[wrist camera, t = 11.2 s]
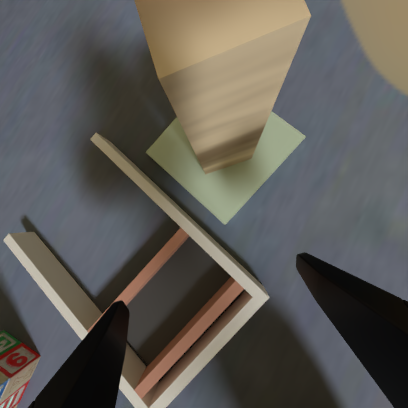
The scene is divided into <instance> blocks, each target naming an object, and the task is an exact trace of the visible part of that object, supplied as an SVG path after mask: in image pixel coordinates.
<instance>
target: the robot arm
mask: <svg viewBox="0 0 408 408" xmlns="http://www.w3.org/2000/svg"><path fill="white" fill-rule="evenodd" d="M296 268H297V270H298V272H299V274H300V275H301V277H302V279H303V280H304V282H305V284H306V285H307V287H308V289H309V290H310V292H311V294H312V295H313V297H314V299H315V300H316V301H317V303H318V304H319V306H320V307H321V308H322V310H323V311H324V313H325V314H326V315H327V317H328V318H329V319H330V321H331V322H332V323H333V325H334V326H335V328H336V329H337V330H338V332H339V333H340V334H341V336H342V337H343V338H344V340H345V341H346V343H347V344H348V345H349V347H350V348H351V349H352V351H353V352H354V353H355V355H356V356H357V358H358V359H359V360H360V362H361V363H362V364H363V366H364V367H365V368H366V370H367V371H368V373H369V374H370V375H371V377H372V378H373V379H374V381H375V382H376V383H377V385H378V386H379V388H380V389H381V390H382V392H383V393H384V394H385V396H386V397H387V398H388V400H389V401H390V403H391V404H392V405H393V407H394V408H408V301H406V300H402V299H401V298H399V297H397V296H395V295H393V294H391V293H389V292H387V291H385V290H382V289H380V288H378V287H376V286H374V285H372V284H370V283H368V282H366V281H364V280H362V279H360V278H358V277H355V276H353V275H351V274H349V273H347V272H345V271H343V270H341V269H339V268H337V267H335V266H333V265H331V264H328V263H326V262H324V261H322V260H320V259H318V258H316V257H314V256H312V255H310V254H308V253H300V254H297V257H296ZM129 316H130V313H129V309H128V308H127V306H126V305H125V303H124V302H123V301H122V300H120V301H116V302H114V303H112V304H111V306H110V307H109V308H108V309H107V310H106V312H105V313H104V314H103V315H102V317H101V318H100V319H99V320H98V322H97V323H96V324H95V325H94V327H93V328H92V329H91V330H90V332H89V333H88V334H87V335H86V337H85V338H84V339H83V340H82V341H81V343H80V344H79V345H78V346H77V348H76V349H75V350H74V351H73V353H72V354H71V355H70V356H69V358H68V359H67V360H66V361H65V363H64V364H63V365H62V366H61V367H60V369H59V370H58V371H57V372H56V374H55V375H54V376H53V377H52V379H51V380H50V381H49V382H48V384H47V385H46V386H45V387H44V389H43V390H42V391H41V392H40V394H39V395H38V396H37V397H36V399H35V401H33V402H32V403H31V405H30V406H29V407H28V408H115V405H116V400H117V395H118V389H119V384H120V379H121V374H122V369H123V363H124V358H125V353H126V345H127V336H128V326H129Z"/></svg>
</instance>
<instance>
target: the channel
mask: <svg viewBox="0 0 408 408" xmlns="http://www.w3.org/2000/svg"><path fill="white" fill-rule="evenodd" d="M90 140H91V141H92V142H93V143H94V144H95V145H96V146H97V147H98V148H100V149H101V150H102V151H103V152H104V153H105V154H106V155H107V156H108V157H109V158H110V159H111V160H112V161H113V162H114V163H115V164H116V165H117V166H118V167H119V168H120V169H121V170H122V171H123V172H124V173H125V174H126V175H127V176H128V177H129V178H130V179H131V180H133V181H134V182H135V183H136V184H137V185H138V186H139V187H140V188H141V189H142V190H143V191H144V192H145V193H146V194H147V195H148V196H149V197H150V198H151V199H152V200H153V201H154V202H155V203H156V204H157V205H158V206H159V207H160V208H161V209H162V210H163V211H164V212H165V213H167V214H168V215H169V216H170V217H171V218H172V219H173V220H174V221H175V222H176V223H177V224H178V225H179V226H180V227H181V228H182V229H183V230H184V231H185V232H186V233H187V234H188V235H189V236H190V237H191V238H192V239H193V240H194V241H195V242H196V243H197V244H198V245H200V246H201V247H202V248H203V249H204V250H205V251H206V252H207V253H208V254H209V255H210V256H211V257H212V258H213V259H214V260H215V261H216V262H217V263H218V264H219V265H220V266H221V267H222V268H223V269H224V270H225V271H226V272H227V273H228V274H229V275H230V276H231V277H233V278H234V279H235V280H236V281H237V282H238V283H239V284H240V285H241V286H242V287H243V288H244V289H245V291H244V292H243V293H242V294H241V295H240V296H239V297H238V298H237V299H236V301H235V302H234V303H233V304H232V305H231V306H230V307H229V308H228V309H227V310H226V311H225V312H224V313H223V314H222V316H221V317H220V318H219V319H218V320H217V321H216V322H215V323H214V324H213V325H212V326H211V327H210V328H209V329H208V331H207V332H206V333H205V334H204V335H203V336H202V337H201V338H200V339H199V340H198V341H197V342H196V343H195V344H194V345H193V347H192V348H191V349H190V350H189V351H188V352H187V353H186V354H185V355H184V356H183V357H182V358H181V359H180V360H179V362H178V363H177V364H176V365H175V366H174V367H173V368H172V369H171V370H170V371H169V372H168V373H167V374H166V375H165V376H164V378H163V379H162V380H161V381H160V382H159V381H158V382H157V383H156V384H155V385H154V386H153V387H152V388H151V389H150V390H149V391H148V392H147V393H146V394H145V396H144V397H143V398H142V399H141V398H140V397H139V396H138V395H137V393H136V392H135V391H134V389H135V387H136V385H137V383H138V382H139V380H140V378H141V376H142V374H143V372H144V370H145V369H146V365H145V364H144V363H143V362H142V361H141V359H140V358H139V357H138V356H137V355H136V353H135V352H134V351H133V350H132V349H131V347H130V346H129V345H128V344H127V345H126V353H125V358H124V363H123V369H122V374H121V379H120V384H119V388H120V390H121V391H122V392H123V393H124V395H125V396H126V397H127V398H128V400H129V401H130V402H131V404H132V405H133V406H134V407H135V408H166V407H167V406H168V405H169V404H170V403H171V401H172V400H173V399H174V398H175V397H176V396H177V395H178V394H179V393H180V392H181V391H182V390H183V389H184V388H185V387H186V386H187V384H188V383H189V382H190V381H191V380H192V379H193V378H194V377H195V376H196V375H197V374H198V373H199V372H200V371H201V370H202V369H203V368H204V366H205V365H206V364H207V363H208V362H209V361H210V360H211V359H212V358H213V357H214V356H215V355H216V354H217V353H218V352H219V351H220V349H221V348H222V347H223V346H224V345H225V344H226V343H227V342H228V341H229V340H230V339H231V338H232V337H233V336H234V335H235V334H236V333H237V331H238V330H239V329H240V328H241V327H242V326H243V325H244V324H245V323H246V322H247V321H248V320H249V319H250V318H251V317H252V316H253V314H254V313H255V312H256V311H257V310H258V309H259V308H260V307H261V306H262V305H263V304H264V303H265V302H266V301H267V300H268V299H269V296H268V294H267V292H266V290H265V288H264V286H263V285H262V284H261V283H260V282H259V281H257V280H256V279H255V278H254V277H253V276H252V275H251V274H250V273H249V272H248V271H247V270H246V269H245V268H244V267H243V266H242V265H241V264H239V263H238V262H237V261H236V260H235V259H234V258H233V257H232V256H231V255H230V254H229V253H228V252H227V251H226V250H225V249H224V248H223V247H221V246H220V245H219V244H218V243H217V242H216V241H215V240H214V239H213V238H212V237H211V236H210V235H209V234H208V233H207V232H206V231H205V230H204V229H202V228H201V227H200V226H199V225H198V224H197V223H196V222H195V221H194V220H193V219H192V218H191V217H190V216H189V215H188V214H187V213H186V212H184V211H183V210H182V209H181V208H180V207H179V206H178V205H177V204H176V203H175V202H174V201H173V200H172V199H171V198H170V197H169V196H168V195H166V194H165V193H164V192H163V191H162V190H161V189H160V188H159V187H158V186H157V185H156V184H155V183H154V182H153V181H152V180H151V179H150V178H149V177H147V176H146V175H145V174H144V173H143V172H142V171H141V170H140V169H139V168H138V167H137V166H136V165H135V164H134V163H133V162H132V161H131V160H129V159H128V158H127V157H126V156H125V155H124V154H123V153H122V152H121V151H120V150H119V149H118V148H117V147H116V146H115V145H114V144H113V143H111V142H110V141H108V140H107V139H105V138H104V137H102V136H101V135H99V134H98V133H95V134H94V135H93V137H92V138H91V139H90ZM4 242H5V243H6V244H7V246H8V247H9V248H10V249H11V251H12V252H13V253H14V254H15V256H16V257H17V258H18V260H19V261H20V262H21V263H22V265H23V266H24V267H25V268H26V270H27V271H28V272H29V274H30V275H31V276H32V277H33V279H34V280H35V281H36V283H37V284H38V285H39V286H40V288H41V289H42V290H43V291H44V293H45V294H46V295H47V297H48V298H49V299H50V300H51V302H52V303H53V304H54V305H55V307H56V308H57V309H58V311H59V312H60V313H61V314H62V316H63V317H64V318H65V319H66V321H67V322H68V323H69V325H70V326H71V327H72V328H73V330H74V331H75V332H76V333H77V335H78V336H79V337H80V339H81V340H83V339H84V338H85V337H86V335H87V334H88V332H87V331H88V330H89V328H90V327H91V326H92V325H93V324H94V323H95V322H96V321H97V320H98V318H99V317H100V316H101V315H102V313H101V311H100V310H99V309H98V308H97V307H96V305H95V304H94V303H93V302H92V301H91V299H90V298H89V297H88V296H87V295H86V293H85V292H84V291H83V290H82V289H81V287H80V286H79V285H78V284H77V283H76V281H75V280H74V279H73V278H72V277H71V275H70V274H69V273H68V272H67V271H66V269H65V268H64V267H63V266H62V265H61V263H60V262H59V261H58V260H57V259H56V257H55V256H54V255H53V254H52V253H51V251H50V250H49V249H48V248H47V247H46V245H45V244H44V243H43V242H42V241H41V239H40V238H39V237H38V236H37V235H36V233H35V232H23V233H10V234H8V235H7V236H6V238H5V239H4Z"/></svg>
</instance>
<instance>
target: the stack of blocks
mask: <svg viewBox="0 0 408 408" xmlns="http://www.w3.org/2000/svg"><path fill="white" fill-rule="evenodd" d="M40 357H41V356H40V355H39V354H38V353H36V352H35V351H33V350H32V349H31V348H29V347H28V346H26V345H25V344H24V343H21V342H20V341H19V340H17V339H16V338H14V337H13V336H12V335H10V334H9V333H7V332H6V331H5V330H3V331H1V332H0V408H16V407H17V405H18V403H19V402H20V400H21V398H22V395H23V393H24V391H25V389H26V387H27V385H28V382H29V380H30V378H31V376H32V374H33V372H34V370H35V368H36V366H37V364H38V361H39V359H40Z"/></svg>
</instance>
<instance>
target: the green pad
mask: <svg viewBox="0 0 408 408" xmlns="http://www.w3.org/2000/svg"><path fill="white" fill-rule="evenodd" d="M305 137H306V136H304V135H303V134H302V133H300V132H299V131H298V130H296V129H295V128H294V127H292V126H291V125H289V124H288V123H287V122H285V121H284V120H283V119H281V118H280V117H279V116H277V115H276V114H275V113H273V112H272V111H271V113H270V115H269V118H268V120H267V122H266V125H265V127H264V130H263V132H262V134H261V137H260V139H259V142H258V144H257V146H256V149H255V151H254V154H253V156H252V158H251V159H249V160H246V161H243V162H240V163H237V164H234V165H231V166H229V167H226V168H223V169H220V170H217V171H214V172H211V173H208V174H205V172H204V170H203V168H202V166H201V164H200V162H199V160H198V158H197V156H196V154H195V152H194V150H193V148H192V146H191V144H190V142H189V140H188V138H187V136H186V134H185V132H184V130H183V128H182V126H181V124H180V122H179V120H178V118H177V117H176V118H175V119H174V121H173V122H172V123H171V124H170V125H169V126H168V127H167V129H166V130H165V131H164V132H163V133H162V134H161V135H160V137H159V138H158V139H157V140H156V141H155V142H154V143H153V145H152V146H151V147H150V148H149V149H148V150H147V151H146V153H147V154H148V155H149V156H150V157H151V158H152V159H153V160H155V161H156V162H157V163H158V164H159V165H160V166H161V167H162V168H163V169H164V170H165V171H167V172H168V173H169V174H170V175H171V176H172V177H173V178H174V179H175V180H176V181H177V182H179V183H180V184H181V185H182V186H183V187H184V188H185V189H186V190H187V191H188V192H189V193H191V194H192V195H193V196H194V197H195V198H196V199H197V200H198V201H199V202H200V203H201V204H203V205H204V206H205V207H206V208H207V209H208V210H209V211H210V212H211V213H212V214H213V215H215V216H216V217H217V218H218V219H219V220H220V221H221V222H222V223H223V224H224V225H226V224H227V222H228V221H229V220H230V219H231V218H232V217H233V216H234V215H235V214H236V213H237V212H238V210H239V209H240V208H241V207H242V206H243V205H244V204H245V203H246V202H247V201H248V200H249V198H250V197H251V196H252V195H253V194H254V193H255V192H256V191H257V190H258V189H259V187H260V186H261V185H262V184H263V183H264V182H265V181H266V180H267V179H268V178H269V177H270V175H271V174H272V173H273V172H274V171H275V170H276V169H277V168H278V167H279V166H280V165H281V163H282V162H283V161H284V160H285V159H286V158H287V157H288V156H289V155H290V154H291V152H292V151H293V150H294V149H295V148H296V147H297V146H298V145H299V144H300V143H301V142H302V140H303V139H304V138H305Z"/></svg>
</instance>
